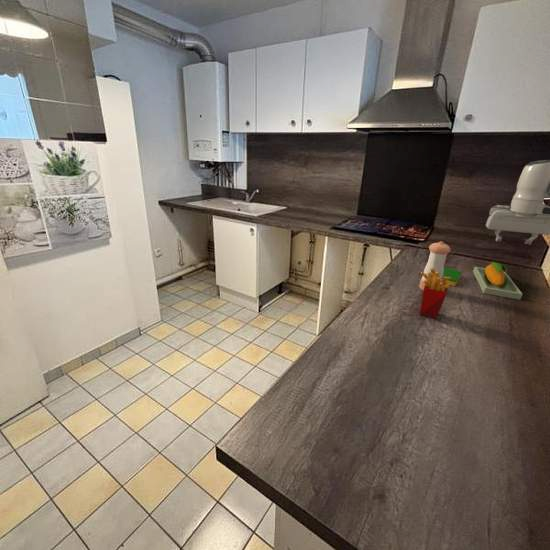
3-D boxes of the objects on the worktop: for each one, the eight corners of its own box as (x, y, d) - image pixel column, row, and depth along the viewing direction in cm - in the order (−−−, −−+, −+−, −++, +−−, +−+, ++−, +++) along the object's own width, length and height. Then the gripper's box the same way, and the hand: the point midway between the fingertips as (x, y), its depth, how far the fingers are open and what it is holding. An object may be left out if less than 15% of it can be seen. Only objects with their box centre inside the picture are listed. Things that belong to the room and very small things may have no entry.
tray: (472, 271, 132) (474, 266, 131) (503, 276, 128) (505, 271, 127) (483, 293, 112) (485, 287, 111) (520, 299, 107) (522, 294, 106)
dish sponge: (460, 276, 126) (462, 271, 125) (454, 286, 116) (456, 281, 116) (442, 272, 130) (444, 267, 130) (435, 281, 121) (436, 276, 120)
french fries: (441, 312, 97) (453, 270, 91) (438, 323, 91) (451, 279, 85) (412, 304, 101) (422, 264, 95) (408, 314, 95) (419, 272, 89)
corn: (506, 260, 123) (515, 276, 107) (501, 276, 126) (510, 294, 110) (485, 258, 127) (491, 273, 110) (481, 274, 129) (486, 291, 113)
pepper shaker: (431, 284, 118) (443, 238, 110) (443, 292, 111) (457, 244, 103) (415, 285, 117) (426, 239, 109) (426, 293, 110) (439, 244, 102)
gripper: (493, 206, 109) (482, 241, 114) (563, 210, 101) (548, 248, 107) (489, 203, 114) (479, 237, 120) (555, 207, 107) (541, 244, 112)
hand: (512, 242), depth 113 cm, fingers open, 8 cm apart
